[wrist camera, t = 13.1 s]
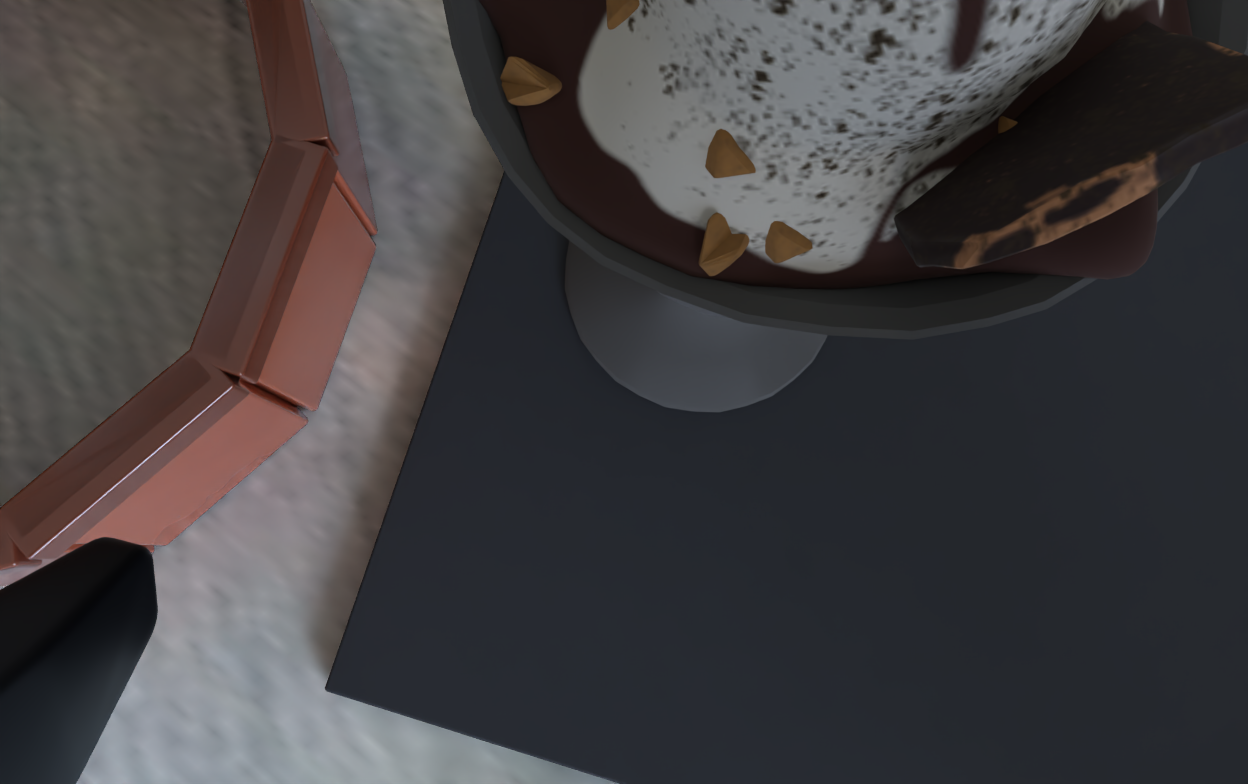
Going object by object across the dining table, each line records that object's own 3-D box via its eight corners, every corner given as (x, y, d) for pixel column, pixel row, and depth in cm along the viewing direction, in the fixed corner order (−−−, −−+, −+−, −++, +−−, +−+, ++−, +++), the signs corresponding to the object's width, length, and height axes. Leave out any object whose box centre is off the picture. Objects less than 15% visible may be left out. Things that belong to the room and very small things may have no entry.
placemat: (1231, 972, 17) (1246, 981, 17) (329, 687, 17) (323, 690, 17) (1427, -58, 20) (1444, -70, 20) (667, -290, 20) (669, -307, 20)
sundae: (532, 85, 18) (335, -1784, 4) (892, 123, 19) (2084, -1521, 4) (492, 440, 17) (-10, -185, 3) (874, 477, 18) (2422, 80, 3)
